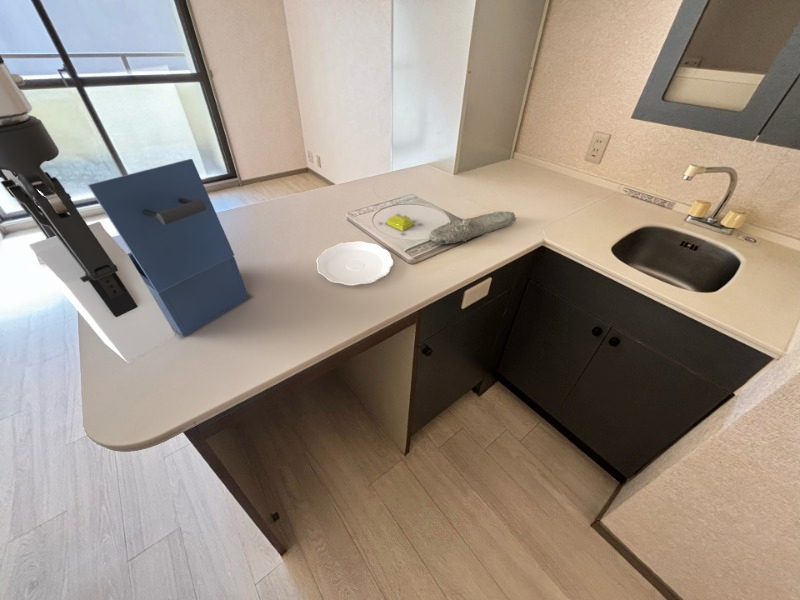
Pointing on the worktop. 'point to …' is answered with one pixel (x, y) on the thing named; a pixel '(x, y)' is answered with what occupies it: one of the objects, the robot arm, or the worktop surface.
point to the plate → (354, 263)
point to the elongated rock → (471, 227)
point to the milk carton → (121, 334)
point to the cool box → (199, 295)
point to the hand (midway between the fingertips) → (113, 299)
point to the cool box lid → (165, 221)
